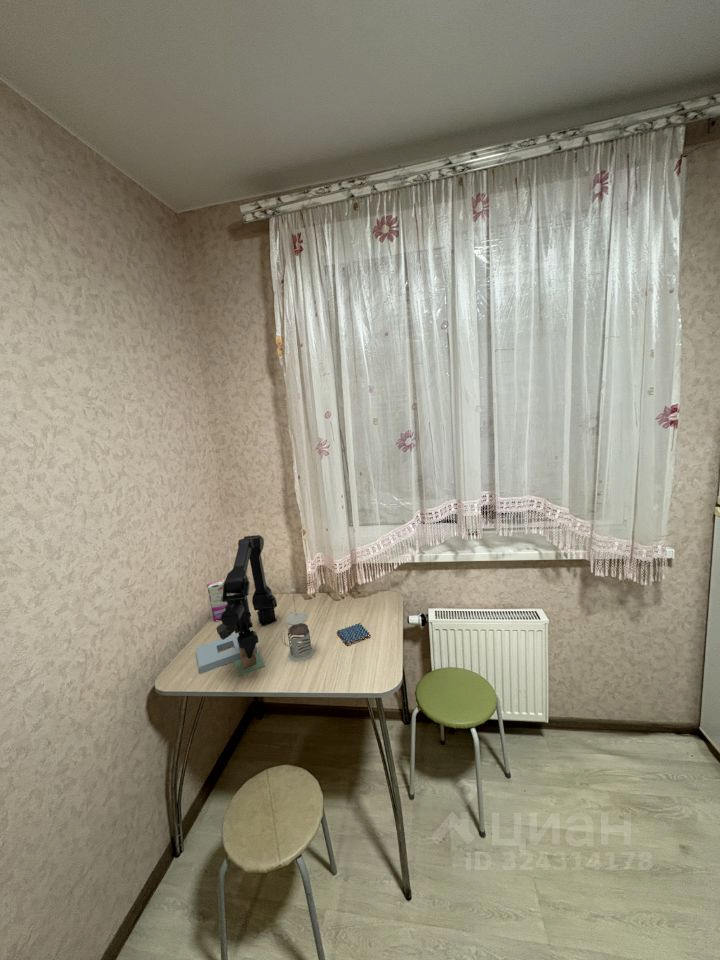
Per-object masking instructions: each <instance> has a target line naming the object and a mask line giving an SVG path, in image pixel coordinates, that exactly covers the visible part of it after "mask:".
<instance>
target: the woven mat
mask: <svg viewBox="0 0 720 960" xmlns="http://www.w3.org/2000/svg"><path fill="white" fill-rule="evenodd" d="M336 634H337V637H339V639H341V641H342V643H343V644H344V645H345V646H346V645H348V646H351V645H353V644H352V643H354V642H355V643H354V644H357V641H359V642H360V640H361V638H362V639H364V638H366V637H367V638H368V637H370V638H371V634H370V632H369V631H368V630H367V629H366V628H365V626H363V624H361V622H359V623H355V624H351V626H350V625H349V626H345V627H344V628H340V629H338V630H337V631H336ZM368 635H369V636H368ZM367 638H366V639H367Z"/></svg>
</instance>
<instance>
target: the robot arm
mask: <svg viewBox="0 0 720 960" xmlns="http://www.w3.org/2000/svg"><path fill="white" fill-rule="evenodd" d="M264 539H265V538H264V537H263V536H261V535H260V534H255V535H246V536H244V537H243V538H241V539H238V542H237V547H238V548H237V550H236V551H237V552H236V556H235V559H234V563H233V568H232V569H231V570H230V571H229V572H228V573H227V575H226V578H225V579H226V580H225V581H224V586H223V598H222V602H227V605H226V607H225V610H224V612H223V613H222V615H221V620H220V622H221V623H220V624H219V625H218V626H217V627H216V632H217V634H218V635H219V638H220V639H222V640H224V639H226V638H227V637H229V636H231V635H233V633H234V634H237V633H238V634H239V636H238V637H237V641H238V645H239V648H244V649H245V652H246V654H247V657H248V659H250V658H252V655H253V651H254V648H255V646H256V647H257V644H258V643H259V637H258V634H257V632H256V631H255V630H251V628H253V626H254V625H253V622H252V619H251V617H252V613H251V612H250V611H251V610H250V605H249V599H248V596H249V591H250V586H251V585H250V580H249V577H248V575H247V571H248V568H249V567H248V566H249V563H250V570H251V574H252V578H253V579H252V581H253V585H254V590H255V591H254V593H253V595H252V598H251V600H252V601H251V603H252V607H253V610H254V611H255V612H256V616H257V621H258V623H259V624H260V626H266V625H269V624H273V623H276V622H277V621H278V620H277V618H276V614H275V611H276V610H275V609H276V607H278V603H277V598H276V597H275V595H274V594H273V591H272V589H271V588H270V587H269V586H268V585H267V582H266V575H265V571H264V565H263V560H262V551H263V549H264V545H265V540H264ZM227 593H228V594H234V593H235V594H234V595H228V596H227Z"/></svg>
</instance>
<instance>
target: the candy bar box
mask: <svg viewBox="0 0 720 960" xmlns="http://www.w3.org/2000/svg"><path fill="white" fill-rule="evenodd" d="M225 580H226V578H224V579H220V580H218V581H214V582H213V581H212V582H211V583H207V584H206V587H207V591H208V597H209V603H210V609H211V614H212V618H213V622H214V621H216V620H219V621H221V615H222V613H223V612H224V610H225V607H226V605H227V602H222V598H223V586H224V581H225ZM234 594H235V593H234ZM234 594H228V593H227V596H228V595H234ZM216 622H217V621H216Z"/></svg>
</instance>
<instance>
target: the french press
mask: <svg viewBox="0 0 720 960" xmlns="http://www.w3.org/2000/svg"><path fill="white" fill-rule="evenodd" d="M295 593H297V590H296V589H295V588H291V589H290V594H292V597H293V599H295ZM293 604H294V606H296V601H295V600H293ZM296 609H297V608H296V607H294V611H295V612H292V613H290V614H289V615H288V616H286V618H285V623H286V624H287V625H289V626H290V627H288V626H284V628H283V629H282V632H281V637H280V638H281V642H282V644H283V645H284V646H286V647H288V648H289V651H288V653H287V658H288V659H289V660H290V661H293V662H303V661H306V660H308V659H310V658H311V657H312V656H314V654H315V651H316V650H315V647H313V646H312V643H311V642H312V641H311V634H310V629H309V627H308V626H309V625H308V624H306V623H304V622H306V621H307V620H308V618H309V617H308V614H307V613H305V612H303V611H296ZM285 629H286V630H285ZM284 630H285V633H284V634H283V632H284ZM287 632H288V633H287ZM286 634H287V638H288V639H287V640H288V644H287V643H286V639H285V638H286ZM283 635H284V636H283Z"/></svg>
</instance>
